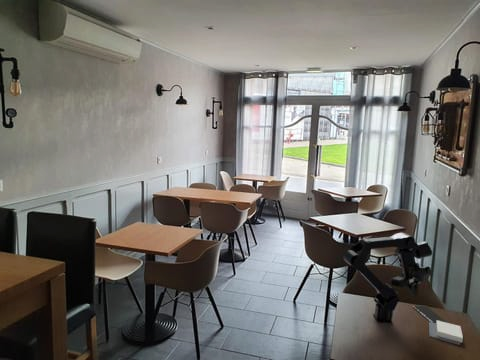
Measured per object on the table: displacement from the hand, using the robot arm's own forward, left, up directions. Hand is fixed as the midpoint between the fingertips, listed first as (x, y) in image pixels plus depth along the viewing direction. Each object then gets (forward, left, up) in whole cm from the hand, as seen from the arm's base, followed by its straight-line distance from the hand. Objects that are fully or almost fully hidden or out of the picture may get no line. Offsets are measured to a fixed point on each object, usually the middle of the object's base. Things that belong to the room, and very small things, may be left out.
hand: (415, 295), depth 155 cm
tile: (+7, -7, -11) cm, 15 cm away
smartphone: (+11, +7, -13) cm, 18 cm away
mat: (+10, -8, -12) cm, 18 cm away
